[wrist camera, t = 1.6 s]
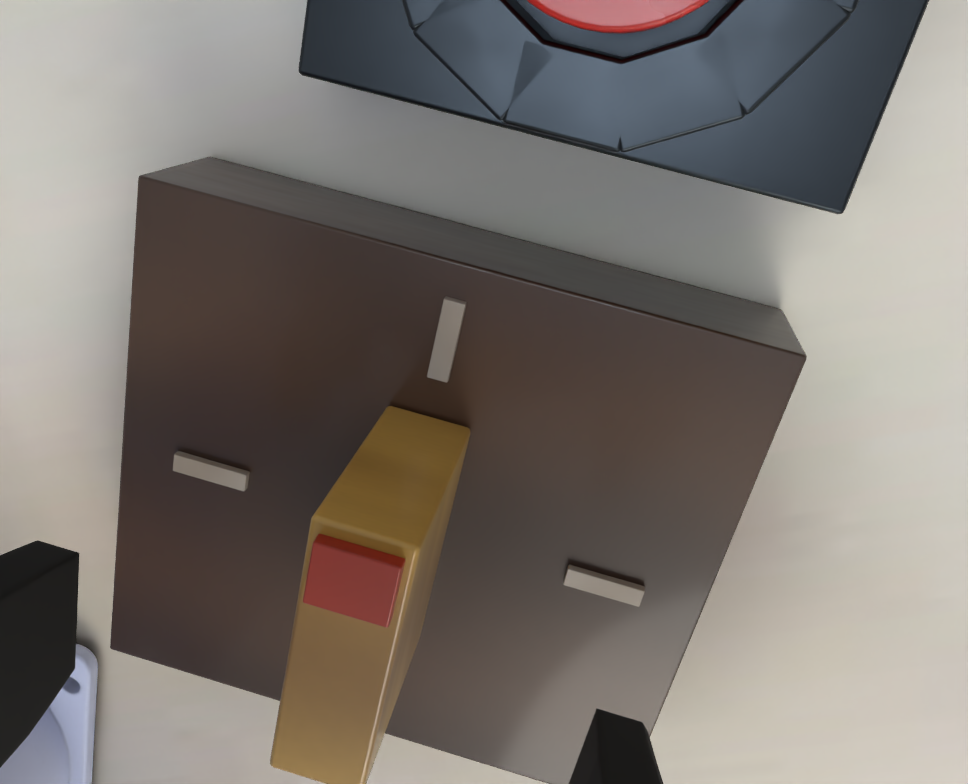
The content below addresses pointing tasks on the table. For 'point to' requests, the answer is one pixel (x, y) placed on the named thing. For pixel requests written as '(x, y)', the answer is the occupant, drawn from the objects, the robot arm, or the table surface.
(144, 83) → the table surface
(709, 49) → the box
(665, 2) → the bell button
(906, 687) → the table surface
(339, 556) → the thumb turn
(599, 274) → the plate
